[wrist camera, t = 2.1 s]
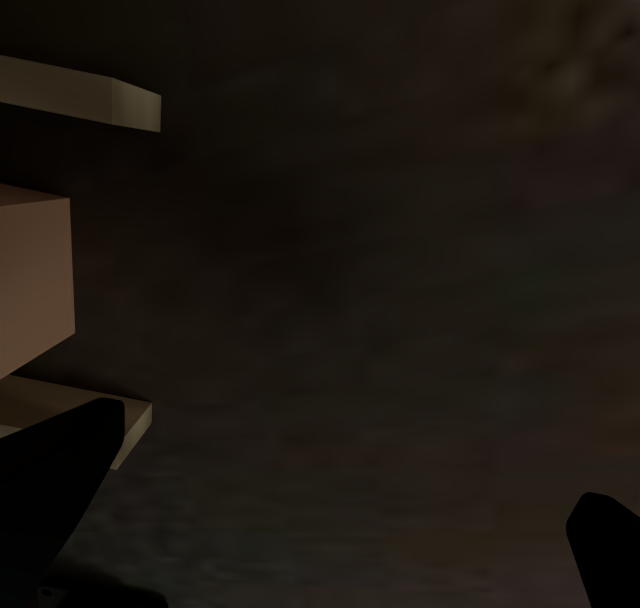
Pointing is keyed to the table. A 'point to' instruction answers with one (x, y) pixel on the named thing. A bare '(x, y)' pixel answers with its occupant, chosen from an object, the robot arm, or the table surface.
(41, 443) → the robot arm
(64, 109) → the box
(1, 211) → the block
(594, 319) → the table surface
